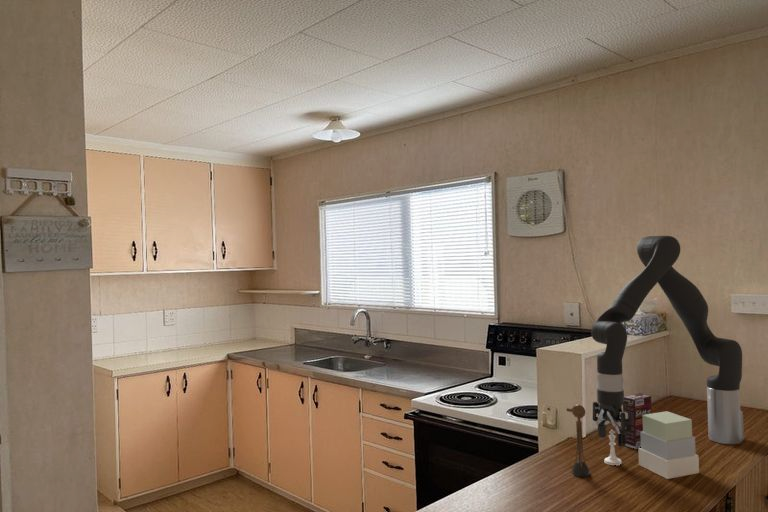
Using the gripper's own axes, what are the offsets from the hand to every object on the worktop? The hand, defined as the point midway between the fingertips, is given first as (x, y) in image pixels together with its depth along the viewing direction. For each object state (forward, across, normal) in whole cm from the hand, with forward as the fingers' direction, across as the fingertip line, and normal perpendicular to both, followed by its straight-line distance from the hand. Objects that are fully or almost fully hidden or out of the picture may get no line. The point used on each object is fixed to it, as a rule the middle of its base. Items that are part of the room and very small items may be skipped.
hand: (611, 441), depth 170 cm
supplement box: (+6, +9, -17) cm, 21 cm away
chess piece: (+7, 0, 0) cm, 7 cm away
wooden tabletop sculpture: (+7, -3, +14) cm, 16 cm away
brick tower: (+6, -10, -11) cm, 16 cm away
